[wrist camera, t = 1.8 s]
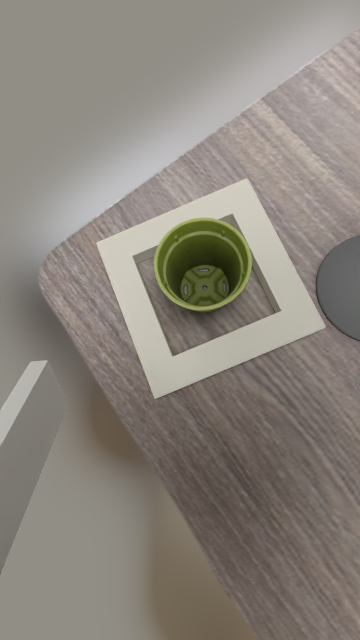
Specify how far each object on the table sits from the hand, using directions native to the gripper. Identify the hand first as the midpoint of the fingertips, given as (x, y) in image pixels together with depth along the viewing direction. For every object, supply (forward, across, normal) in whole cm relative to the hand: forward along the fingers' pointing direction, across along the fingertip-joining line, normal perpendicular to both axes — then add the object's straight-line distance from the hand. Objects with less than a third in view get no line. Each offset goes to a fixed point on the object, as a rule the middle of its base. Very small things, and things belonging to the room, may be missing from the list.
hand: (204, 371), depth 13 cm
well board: (+24, +1, -9) cm, 26 cm away
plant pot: (+24, +1, -9) cm, 26 cm away
